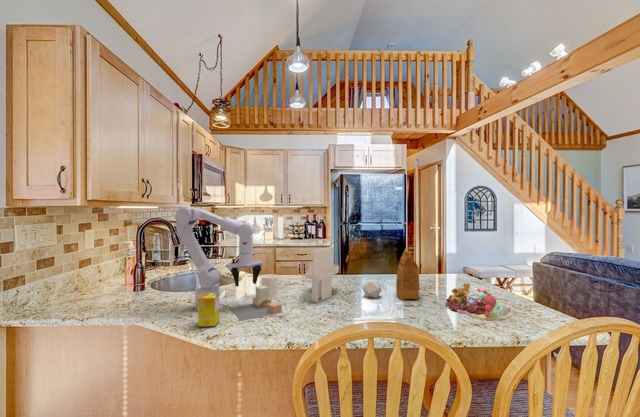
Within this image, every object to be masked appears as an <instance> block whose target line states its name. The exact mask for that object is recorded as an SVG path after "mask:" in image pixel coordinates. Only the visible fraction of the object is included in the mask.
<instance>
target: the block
mask: <svg viewBox="0 0 640 417" xmlns="http://www.w3.org/2000/svg"><path fill="white" fill-rule="evenodd" d="M281 311H282V303H280V302H277V301H274V302H271V303H270V304H267V312H270V313H272V315H276V314H275V313H277V314H279V313H278V312H281Z"/></svg>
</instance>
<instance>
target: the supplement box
mask: <svg viewBox="0 0 640 417" xmlns="http://www.w3.org/2000/svg"><path fill="white" fill-rule="evenodd" d="M219 304H220V292H219V293H203V294H202V295H201V296H200V297H199V298H198V311H197V313H198V314H197V315H198V319H197V320H198V321H197V322H198V323H197V324H198V328H199V329H205V328H207V329H209V328H216V327H217V326H218V325H219V322H220V309H219Z"/></svg>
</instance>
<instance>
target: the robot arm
mask: <svg viewBox="0 0 640 417" xmlns="http://www.w3.org/2000/svg"><path fill="white" fill-rule="evenodd" d="M174 219H175V221H176V222H175V223H176V225H175V226H176V228H175V230H176V231H175V232H176V234H177V235H178V236H177V237H179V239H180V241H181V242H182V244H183V246H184V248H185V250H186V251H187V253H188V255H189V257H190V259H191V260H192V262H193V263H194V266H195V268H196V269H197V272H196V276H197V277H198V284H199V285H200V287H199V288H195V293H194V295H195V296H194V300H195V301H194V302H195V305H194V308H195V309H196V310H197V312H198V298H199V297H200V296H201V295H202V294H203V293H219V294H220V281H221V278H222V274H221V271H220V270H218V269H217V268H216V267H215V265H213V264H212V263H211V262H210V261H209V259H208V257H207V255H206V254H205V252H204V251H203V249H202V247H201V245H200V243H199V241H198V240H197V238H196V237H195V235H194V232H193V231H192V230H193V228H194V224H196V222H197V221H198V220H205V221H207V222H210V223H213V224H216V225H219V226H220V227H221V229H222V230H224V231H227V232H228V233H231V234H234V235H237V236H238V238H239V241H238V262H235V263H229V264H227V270H229V272H230V273H231V275H232V277H233V281H234V285H235V287H237V288H238V287H239V285H240V284H239V283H240V282H239V280H240V279H239V276H240V270H239V269H243V268H244V269H247V268H252V283H253V284H254V285H256V284H257V281H258V277H259V276H260V273H261V271H262V267H263V266H264V261H262V260H259V261H258V260H255V261H254V237H253V236H254V233H255V228H254V226H253V224H250V223H249V222H246V223H245V221H244V220H241V221H240V220H237V219H235V217H234V216H226V217H222V216H220V215H217V214H215V213H213V212H210V211H208V210H206V209H204V208H200V207H196V206H181V207H179V208H178V209H177V211H176V213H175V215H174ZM221 309H223V306H222V305H221V304H220V303H219V310H221Z"/></svg>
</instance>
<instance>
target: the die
mask: <svg viewBox="0 0 640 417" xmlns="http://www.w3.org/2000/svg"><path fill="white" fill-rule="evenodd" d="M361 288H362V290H363V293H364V295H365V297H366V298H370V299H377V298H378V297H379V295H380V294H381V292H382V288H381V285H380V282H379V280H378V279H377V280H376V279H366V281H365V283H364V284H363V286H362V287H361Z"/></svg>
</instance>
